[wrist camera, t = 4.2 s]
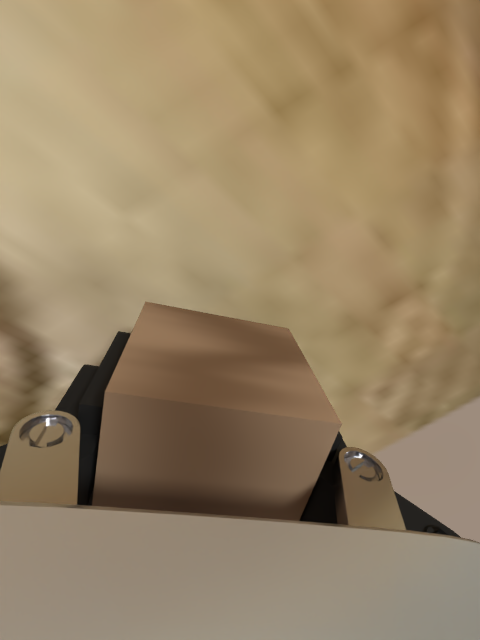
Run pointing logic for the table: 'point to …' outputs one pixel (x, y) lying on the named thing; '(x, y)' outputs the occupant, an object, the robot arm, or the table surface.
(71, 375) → the table surface
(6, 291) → the table surface
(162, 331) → the cube
